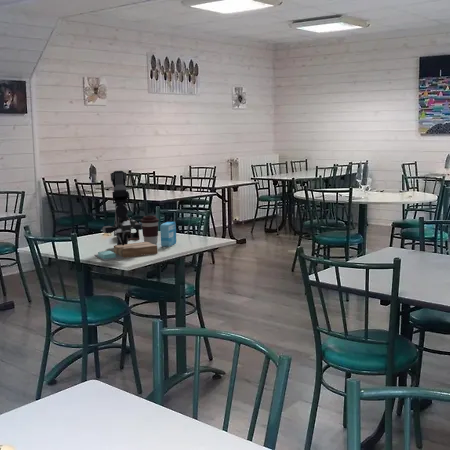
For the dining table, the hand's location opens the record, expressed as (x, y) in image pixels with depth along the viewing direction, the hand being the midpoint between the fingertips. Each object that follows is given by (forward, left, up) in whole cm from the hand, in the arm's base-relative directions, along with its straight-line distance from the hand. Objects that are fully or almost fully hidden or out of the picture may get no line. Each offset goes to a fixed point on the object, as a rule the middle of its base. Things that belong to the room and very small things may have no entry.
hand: (123, 245), depth 301 cm
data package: (-11, +29, -5) cm, 32 cm away
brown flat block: (0, +6, -5) cm, 8 cm away
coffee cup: (-22, +23, -5) cm, 32 cm away
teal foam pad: (+1, -9, -3) cm, 9 cm away
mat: (0, -8, -5) cm, 9 cm away
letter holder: (-48, +21, -5) cm, 53 cm away
